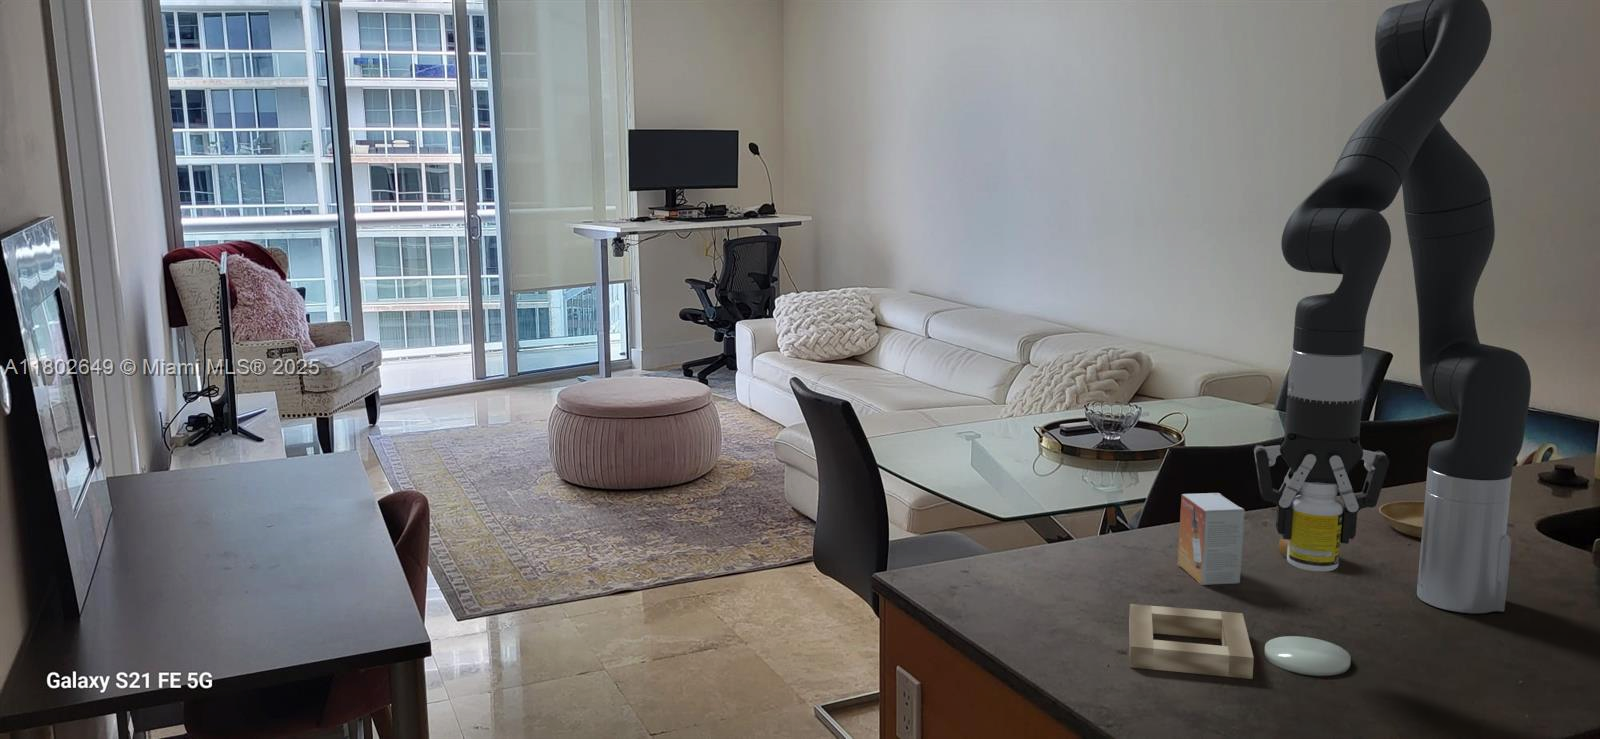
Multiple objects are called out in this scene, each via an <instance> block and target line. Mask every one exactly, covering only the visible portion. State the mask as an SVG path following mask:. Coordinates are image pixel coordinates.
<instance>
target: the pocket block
mask: <svg viewBox="0 0 1600 739" xmlns="http://www.w3.org/2000/svg"><path fill="white" fill-rule="evenodd" d="M1128 620H1129V622H1128V624H1129V625H1128V627H1129V629H1128V630H1129V632H1128V633H1129V635H1128V636H1129V638H1128V639H1129V640H1128V641H1129V668H1134V669H1145V670H1154V671H1165V672H1167V671H1168V672H1176V673H1185V674H1187V673H1188V674H1197V675H1207V676H1216V677H1217V676H1218V677H1228V678H1236V679H1237V678H1238V679H1249V680H1253V678H1254V677H1253V676H1254V660H1255V659H1254V657H1255V656H1254V654H1253V649H1252V645H1251V641H1250V637H1249V633H1248V629H1247V625H1246V621H1245V617H1244V614H1243V613H1242V612H1233V611H1232V612H1231V611H1230V612H1229V611H1219V610H1218V611H1217V610H1208V609H1207V610H1206V609H1197V608H1196V609H1195V608H1184V607H1183V608H1181V607H1171V606H1160V605H1159V606H1158V605H1147V604H1137V603H1136V604H1135V603H1130V604H1129V619H1128ZM1154 634H1156V635H1157V634H1160V635H1169V636H1170V635H1171V636H1181V637H1182V636H1183V637H1192V638H1203V639H1204V638H1206V639H1214V640H1215V639H1216V640H1220V642H1221V645H1216V644H1205V643H1193V642H1183V641H1173V640H1172V641H1171V640H1162V639H1161V640H1160V639H1154Z"/></svg>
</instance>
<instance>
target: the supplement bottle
mask: <svg viewBox="0 0 1600 739" xmlns="http://www.w3.org/2000/svg"><path fill="white" fill-rule="evenodd" d="M1298 492H1299V493H1300V494H1299V495H1295V497H1294V499H1293V500H1292V502H1291V504H1290V505H1291V507H1292V520H1291V535H1290V540H1288V547H1287V558H1286V560H1287V562H1288V564H1290V565H1291V566H1293V567H1296V568H1298V569H1300V570H1305V571H1310V572H1311V571H1312V572H1331V571H1335V570H1336V569H1337V568H1338V567H1339V564H1340V554H1341V552H1340V551H1341V530H1342V519H1343V505H1344V504H1343V503H1342V502H1341V501H1340V500H1338V498H1336V496H1338V493H1339V490H1338V484H1337V482H1335V484H1331V483H1324V482H1320V481H1319V482H1304V483H1303V485H1302V486H1301V488H1300V490H1299V491H1298Z"/></svg>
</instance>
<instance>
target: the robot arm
mask: <svg viewBox="0 0 1600 739" xmlns="http://www.w3.org/2000/svg"><path fill="white" fill-rule="evenodd" d="M1492 30H1493V28H1492V20H1491V16H1490V13H1489V9H1488V7H1487V6H1486V3H1485V2H1484V0H1415V1H1412V2H1406V3H1402V4H1398V5H1394V6H1392V7H1389V8H1387V9H1386V10H1384V11H1382V14H1381V15H1380V16H1379V18H1378V21H1377V24H1376V27H1375V34H1374V49H1375V58H1376V64H1377V67H1378V68H1377V69H1378V72H1379V73H1378V74H1379V77H1380V81H1381V86H1382V91H1383V94H1384V98H1385V101H1384V102H1383V103H1382V104H1381V105H1380V106H1378V107H1377V108H1376V109H1374V110H1373V111H1372V112H1371V113H1370V114H1368V116H1367V117H1366V118H1365V119H1364V120H1363V121H1362V122H1361V123H1360V124H1359V125H1358V126H1357V127H1356V129H1355V130H1354V131H1353V132H1352V134H1351V136H1350V137H1349V138H1348V140H1347V142H1346V144H1345V146H1344V148H1343V149H1342V152H1341V154H1340V155H1339V157H1338V159H1337V161H1336V163H1335V166H1334V167H1333V170H1332V171H1331V173H1330V174H1328V176H1327V177H1325V179H1323V180H1322V181H1321V182H1320V183H1319V184H1318V185H1317V187H1316V188H1314V190H1313V191H1312V192H1310V193H1309V194H1308V195H1307V197H1305V199H1304V200H1302V201H1301V202H1300V204H1298V206H1297V207H1296V208H1295V209H1294V211H1292V213H1291V215H1290V216H1289V218H1288V219H1287V221H1286V223H1285V226H1284V228H1283V231H1282V235H1281V244H1280V245H1281V252H1282V255H1283V257H1284V260H1285V261H1286V263H1287V264H1288V265H1289V266H1290V267H1291V268H1293V269H1294V270H1296V271H1299V272H1303V273H1317V274H1329V275H1330V274H1334V275H1342V278H1341V281H1340V283H1339V285H1338V287H1337V288H1336V290H1335V291H1334V292H1331V293H1323V294H1315V295H1310V296H1305V297H1302V298H1301V299H1300V300H1299V301H1298V302H1297V305H1296V307H1295V314H1294V327H1293V339H1292V340H1293V341H1292V352H1291V353H1292V354H1291V360H1290V364H1289V369H1288V378H1287V379H1288V381H1287V392H1286V393H1287V394H1286V396H1287V397H1286V410H1285V422H1284V424H1285V427H1284V435H1283V438H1282V439H1281V440H1280V442H1279V443H1278V444H1277V445H1269V446H1268V445H1267V446H1264V445H1261V444H1256V445H1254V448H1253V452H1254V453H1253V454H1254V461H1255V467H1256V473H1257V481H1258V486H1259V492H1260V494H1261V497H1262V500H1264V501H1265V502H1271V503H1273V504H1275V505H1276V513H1275V514H1276V516H1275V528H1276V531H1277V533H1278V535H1281V538H1283V539H1286V540H1290V535H1291V520H1292V507H1291V502H1292V500H1293V499H1294V497H1296V496H1297V495H1296V494H1297V493H1298V492H1299V490H1300V488H1301V486H1302V485H1303V483H1304V482H1319V481H1320V482H1324V483H1331V484H1335V482H1337V484H1338V493H1339V495H1340V497H1341V500H1342V505H1343V519H1342V530H1341V542H1340V544H1346V545H1347V544H1349V543H1350V539H1351V540H1354V538H1355V536H1356V534H1357V532H1356V531H1357V520H1358V513H1359V511H1360V510H1363V509H1366V508H1369V509H1371V508H1374V507H1376V506H1377V504H1378V501H1379V498H1380V494H1381V491H1382V488H1383V484H1384V482H1385V478H1386V475H1387V472H1388V468H1389V465H1390V462H1391V461H1390V458H1389V457H1388V455H1387V454H1386V453H1384V451H1382V450H1377V451H1372V450H1366V449H1363V447H1362V446H1361V443H1360V432H1361V419H1362V406H1363V394H1364V393H1365V384H1364V382H1365V381H1364V380H1365V366H1364V348H1365V347H1364V345H1365V333H1366V321H1367V320H1366V319H1367V314H1368V311H1369V308H1370V306H1371V301H1372V298H1373V295H1374V291H1375V290H1376V289H1375V288H1376V286H1377V284H1378V280H1379V278H1380V275H1381V273H1382V271H1383V269H1384V266H1385V263H1386V262H1387V258H1388V255H1389V253H1390V249H1391V245H1392V244H1391V243H1392V232H1391V229H1390V225H1389V223H1388V221H1387V219H1386V218H1385V216H1384V215H1383V214H1382V213H1381V212H1383V211H1385V210H1386V209H1387V208H1389V207H1390V206H1391V205H1392V204H1393V202H1394V201H1395V199H1396V197H1397V194H1398V193H1399V191H1400V188H1402V200H1403V209H1404V210H1403V211H1404V216H1405V225H1406V231H1407V232H1406V233H1407V236H1408V237H1407V239H1408V244H1409V248H1410V254H1411V260H1412V269H1413V280H1414V288H1415V294H1416V303H1417V314H1418V318H1417V320H1418V349H1419V352H1418V353H1419V358H1418V360H1419V361H1418V362H1419V375H1420V382H1421V387H1422V390H1423V392H1424V394H1425V396H1426V398H1427V400H1428V401H1429V402H1430V403H1431V404H1432V405H1433V406H1435V407H1437V408H1438V409H1441V410H1442V411H1445V412H1447V413H1451V414H1455V415H1458V421H1457V426H1456V429H1455V430H1456V431H1455V434H1454V437H1453V438H1451V439H1448V440H1441V441H1436V442H1435V443H1433V444H1432V445H1431V446H1430V447H1429V452H1428V459H1427V469H1426V470H1427V472H1426V473H1427V474H1426V482H1425V483H1426V485H1425V494H1424V496H1425V497H1424V502H1425V505H1424V516H1423V528H1422V538H1420V539H1421V540H1420V541H1421V542H1420V553H1419V561H1418V562H1419V563H1418V575H1417V586H1416V587H1417V588H1416V595H1417V597H1418V598H1419V600H1421V601H1422V602H1424V603H1426V604H1428V605H1429V606H1432V607H1435V608H1439V609H1442V610H1446V611H1452V612H1457V613H1462V614H1463V613H1465V614H1466V613H1467V614H1488V613H1490V612H1491V613H1492V612H1505V608H1506V607H1505V606H1506V598H1507V597H1506V596H1507V589H1508V588H1507V587H1508V586H1507V585H1508V578H1509V577H1508V576H1509V568H1510V558H1511V547H1512V539H1511V537H1510V536H1509V535H1508V534H1507V528H1508V519H1509V518H1508V517H1509V509H1510V508H1509V507H1510V497H1511V487H1512V476H1513V469H1514V468H1513V467H1514V464H1515V462H1516V460H1517V458H1518V456H1519V455H1520V452H1521V450H1522V447H1523V443H1524V437H1525V430H1526V425H1527V420H1528V412H1529V407H1530V401H1531V394H1532V393H1531V392H1532V378H1531V377H1532V376H1531V372H1530V368H1529V366H1528V364H1527V362H1526V360H1525V359H1524V358H1523V356H1521V355H1520V353H1518V352H1515V351H1513V350H1510V349H1507V348H1503V347H1499V346H1496V345H1495V346H1493V345H1490V344H1485V343H1484V344H1483V343H1480V342H1481V341H1480V339H1479V336H1478V332H1477V327H1476V319H1475V310H1474V309H1475V308H1474V306H1475V305H1474V302H1475V301H1474V300H1475V293H1476V289H1477V286H1478V283H1479V281H1480V278H1481V276H1482V274H1483V272H1484V269H1485V267H1486V265H1487V262H1488V261H1489V258H1490V255H1491V252H1492V251H1493V246H1494V243H1495V234H1496V233H1495V232H1496V230H1495V228H1496V227H1495V218H1494V217H1495V216H1494V211H1493V210H1494V208H1493V202H1492V193H1491V188H1490V184H1489V181H1488V179H1487V176H1486V174H1485V173H1484V171H1483V170H1482V169H1481V167H1480V166H1479V165H1478V163H1477V162H1476V161H1475V160H1474V159H1473V158H1472V157H1471V155H1470V154H1469V153H1468V152H1467V151H1466V150H1465V149H1464V147H1463V146H1462V145H1461V144H1459V142H1458V141H1457V140H1456V139H1455V138H1454V137H1453V136H1452V134H1451V133H1450V132H1449V131H1448V130H1447V129H1446V127H1445V125H1444V124H1443V123H1442V121H1441V118H1442V117H1443V115H1445V113H1446V112H1447V110H1448V109H1449V108H1450V107H1451V105H1452V104H1453V103H1454V101H1455V100H1456V98H1458V96H1459V95H1460V93H1461V92H1462V90H1464V88H1465V87H1466V85H1467V84H1468V83H1469V82H1470V80H1471V79H1472V78H1473V76H1474V75H1475V74H1476V72H1477V71H1478V69H1479V68H1480V66H1481V65H1482V63H1483V61H1484V60H1485V57H1486V55H1487V53H1488V50H1489V48H1490V45H1491V40H1492ZM1279 456H1282V458H1283V459H1284V460H1285V462H1286V464H1287V465H1288V467H1289V469H1288V471H1287V473H1286V475H1285V476H1284V480H1283V483H1282V484H1281V486H1280V488H1279V490H1278V489H1276V488H1273V482H1272V481H1273V480H1272V474H1271V468H1270V467H1272V466H1274V465H1275V464H1276V462H1277V461H1276V460H1277V458H1278V457H1279ZM1361 460H1363V461H1364V462H1363V463H1364V464H1363V466H1364V468H1365V469H1366V471H1367V474H1366V477H1365V481H1364V483H1363V488H1362V491H1361V493H1359V494H1355V493H1354V489H1353V487H1352V484H1351V481H1350V479H1349V476H1348V474H1349V473H1350V472H1351V470H1353V469H1354V467H1356V465H1357V464H1358V463H1359V462H1360V461H1361Z"/></svg>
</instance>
